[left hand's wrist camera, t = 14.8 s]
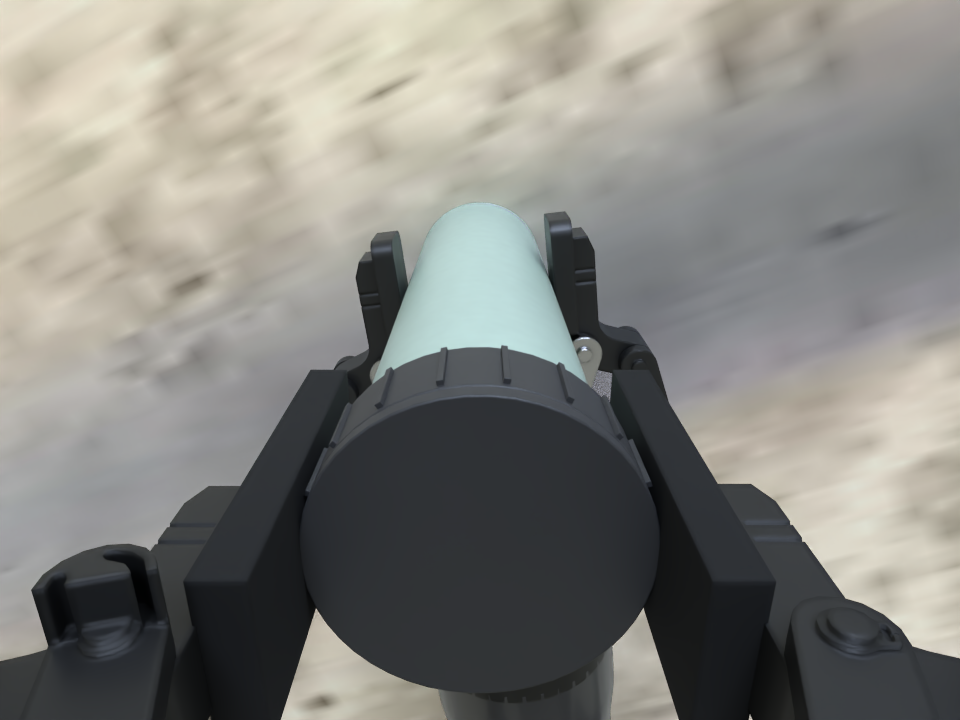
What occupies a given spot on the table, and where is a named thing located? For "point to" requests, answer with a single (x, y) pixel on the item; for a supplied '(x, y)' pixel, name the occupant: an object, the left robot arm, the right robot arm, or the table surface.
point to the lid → (479, 523)
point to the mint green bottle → (480, 293)
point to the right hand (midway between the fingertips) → (469, 228)
